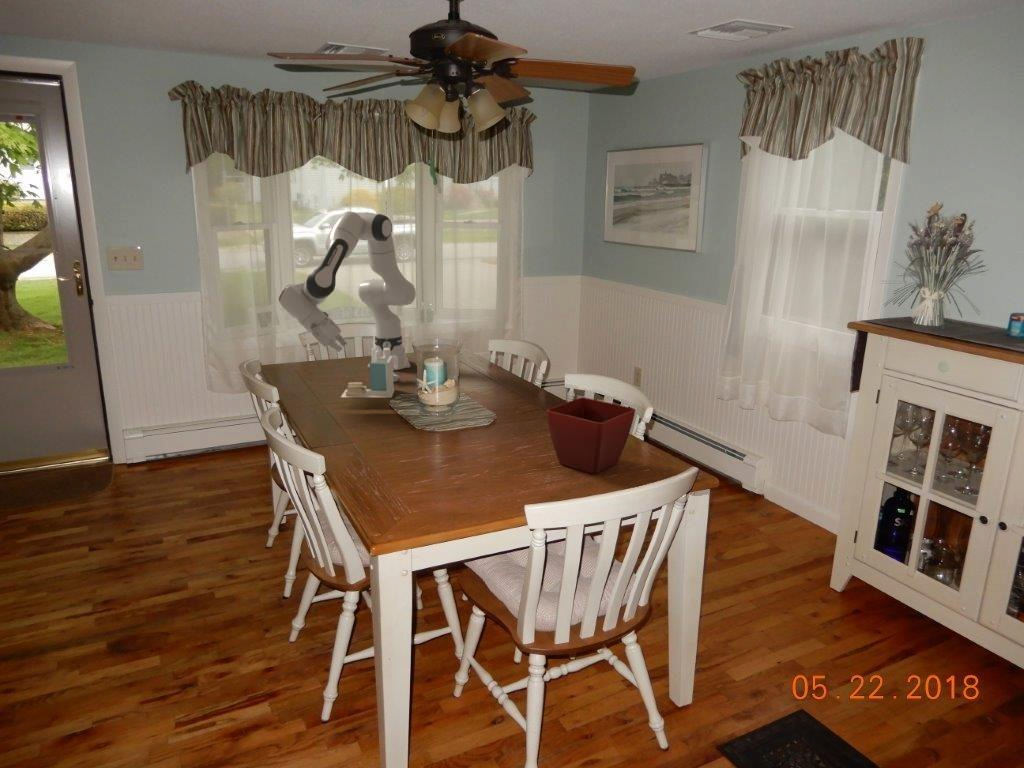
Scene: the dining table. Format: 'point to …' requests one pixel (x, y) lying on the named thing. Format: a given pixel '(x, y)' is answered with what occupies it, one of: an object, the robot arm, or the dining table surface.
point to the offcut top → (355, 386)
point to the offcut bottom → (357, 392)
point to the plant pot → (589, 433)
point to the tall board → (378, 376)
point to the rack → (390, 386)
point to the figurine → (385, 358)
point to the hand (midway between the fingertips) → (343, 347)
